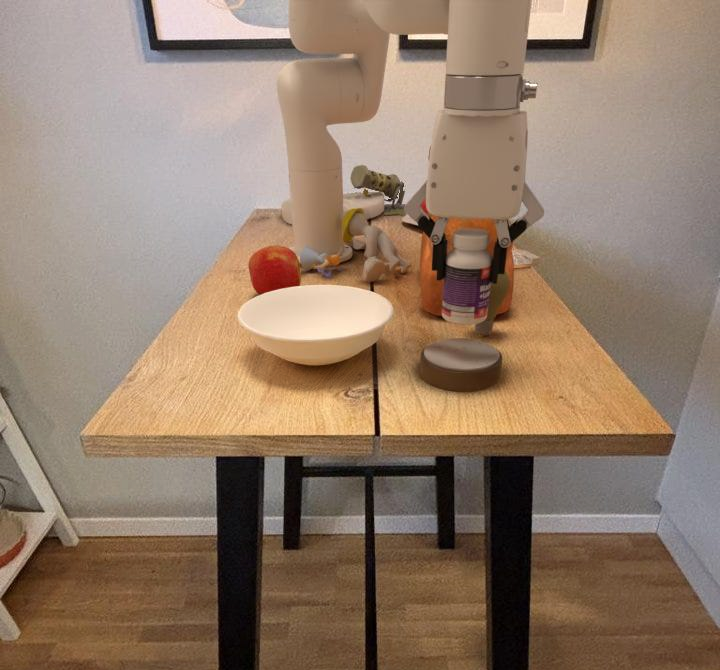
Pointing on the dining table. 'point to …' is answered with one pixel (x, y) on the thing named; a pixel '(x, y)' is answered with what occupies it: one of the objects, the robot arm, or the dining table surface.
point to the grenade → (378, 183)
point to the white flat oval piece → (348, 205)
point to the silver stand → (461, 364)
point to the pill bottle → (467, 278)
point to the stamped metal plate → (524, 259)
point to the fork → (358, 245)
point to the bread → (428, 278)
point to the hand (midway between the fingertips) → (467, 276)
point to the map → (395, 212)
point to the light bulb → (494, 304)
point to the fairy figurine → (317, 260)
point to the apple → (274, 269)
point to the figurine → (372, 245)
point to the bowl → (316, 322)
